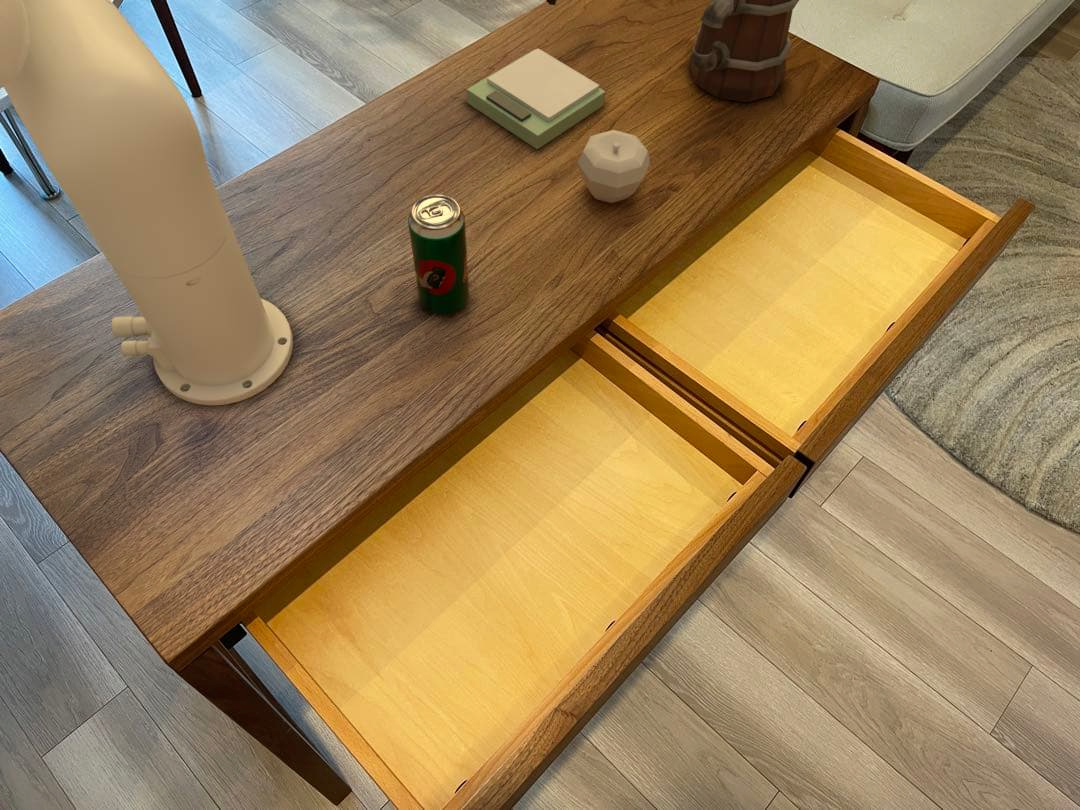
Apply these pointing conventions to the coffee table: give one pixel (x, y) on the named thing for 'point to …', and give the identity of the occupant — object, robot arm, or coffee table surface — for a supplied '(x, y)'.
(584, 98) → the scale
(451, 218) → the soda can
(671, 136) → the coffee table surface
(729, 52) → the mug
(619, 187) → the white apple
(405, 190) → the coffee table surface
